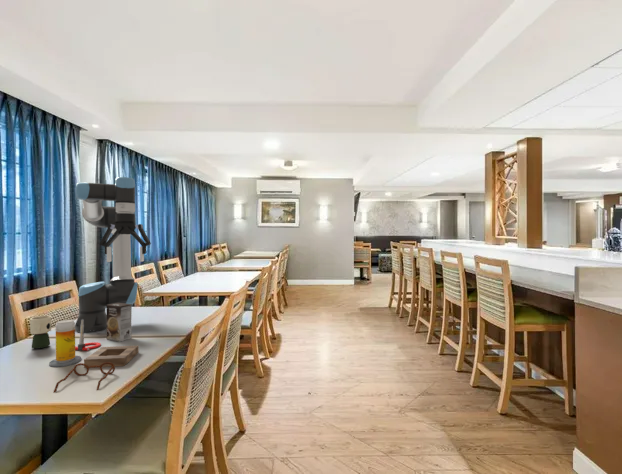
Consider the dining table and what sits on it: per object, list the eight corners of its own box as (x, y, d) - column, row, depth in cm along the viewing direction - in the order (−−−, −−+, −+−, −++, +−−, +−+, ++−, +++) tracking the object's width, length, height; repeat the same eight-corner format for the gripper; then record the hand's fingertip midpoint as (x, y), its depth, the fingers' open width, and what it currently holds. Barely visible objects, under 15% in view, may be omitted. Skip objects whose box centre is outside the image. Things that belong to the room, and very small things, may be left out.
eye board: (102, 354, 140) (102, 346, 140) (138, 352, 142) (138, 345, 142) (84, 367, 126) (84, 359, 126) (124, 365, 128) (124, 357, 128)
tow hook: (88, 344, 154) (70, 350, 145) (89, 315, 154) (72, 319, 145) (105, 345, 153) (88, 351, 143) (106, 316, 153) (89, 320, 144)
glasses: (115, 374, 121) (115, 360, 121) (97, 391, 108) (97, 376, 108) (75, 376, 119) (74, 362, 119) (52, 394, 106) (51, 378, 106)
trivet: (59, 357, 136) (59, 356, 136) (86, 356, 137) (86, 355, 137) (42, 367, 126) (42, 365, 126) (72, 366, 127) (72, 364, 127)
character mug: (49, 349, 145) (49, 319, 145) (28, 352, 142) (27, 321, 141) (52, 342, 155) (52, 313, 154) (32, 345, 151) (32, 315, 151)
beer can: (74, 361, 130) (73, 322, 130) (54, 364, 128) (53, 324, 127) (76, 356, 136) (76, 318, 136) (57, 359, 133) (57, 320, 133)
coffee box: (105, 339, 159) (105, 304, 159) (118, 335, 165) (118, 302, 165) (120, 341, 156) (119, 306, 156) (132, 337, 162) (132, 303, 162)
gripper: (90, 212, 145) (90, 262, 146) (152, 212, 148) (152, 262, 149) (99, 213, 153) (99, 261, 153) (157, 213, 156) (158, 260, 156)
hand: (125, 261), depth 151 cm, fingers open, 13 cm apart
